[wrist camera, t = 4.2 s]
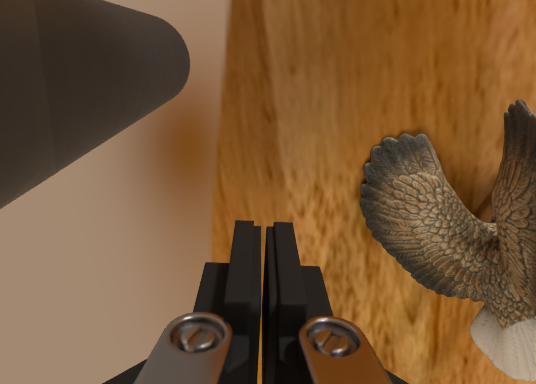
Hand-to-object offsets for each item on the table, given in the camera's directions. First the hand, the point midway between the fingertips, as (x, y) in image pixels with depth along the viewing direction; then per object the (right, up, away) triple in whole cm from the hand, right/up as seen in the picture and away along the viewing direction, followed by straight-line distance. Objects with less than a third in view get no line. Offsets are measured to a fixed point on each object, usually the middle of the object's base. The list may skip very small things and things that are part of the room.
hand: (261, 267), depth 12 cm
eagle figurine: (+8, +2, +5) cm, 10 cm away
